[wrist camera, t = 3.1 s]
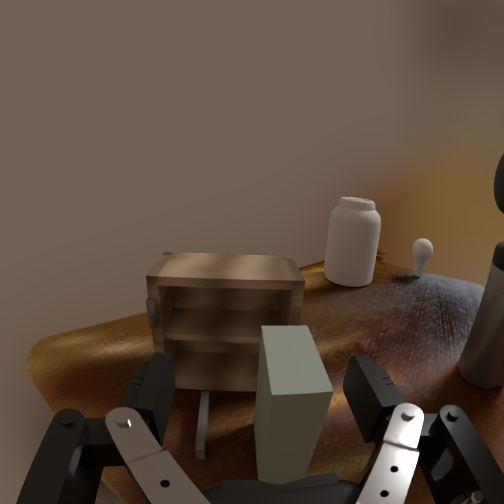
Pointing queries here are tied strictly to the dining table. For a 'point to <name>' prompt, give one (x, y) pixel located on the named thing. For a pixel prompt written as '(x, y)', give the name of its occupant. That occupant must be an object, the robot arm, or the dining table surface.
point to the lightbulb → (421, 255)
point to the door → (288, 403)
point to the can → (352, 242)
